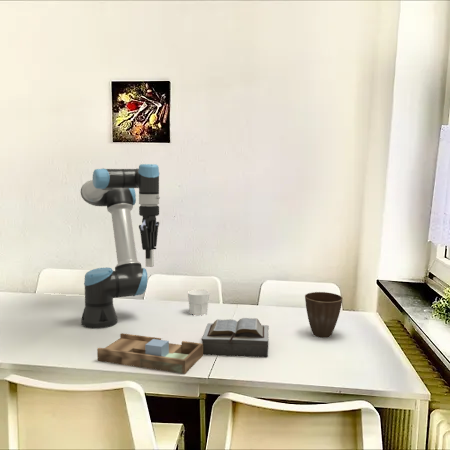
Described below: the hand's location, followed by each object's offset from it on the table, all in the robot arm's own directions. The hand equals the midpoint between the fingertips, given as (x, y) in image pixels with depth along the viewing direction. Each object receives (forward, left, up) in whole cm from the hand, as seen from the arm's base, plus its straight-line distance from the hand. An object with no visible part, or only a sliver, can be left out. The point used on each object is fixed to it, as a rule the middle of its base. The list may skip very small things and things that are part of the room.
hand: (149, 266), depth 196 cm
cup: (+5, +40, -30) cm, 50 cm away
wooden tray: (+9, -17, -29) cm, 35 cm away
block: (+13, -20, -26) cm, 36 cm away
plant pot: (+63, +29, -30) cm, 75 cm away
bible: (+34, +4, -30) cm, 45 cm away
